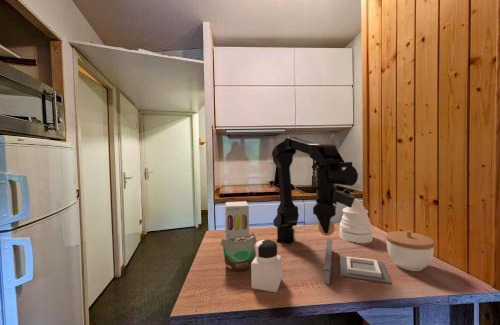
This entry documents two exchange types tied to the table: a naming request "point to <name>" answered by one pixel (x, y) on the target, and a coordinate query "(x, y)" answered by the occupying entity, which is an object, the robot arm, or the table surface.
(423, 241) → the lidded bowl
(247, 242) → the food container
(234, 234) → the supplement box
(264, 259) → the medicine bottle
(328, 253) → the gray fence
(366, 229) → the honey pot
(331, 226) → the ball
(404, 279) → the table surface
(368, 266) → the mat
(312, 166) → the robot arm
